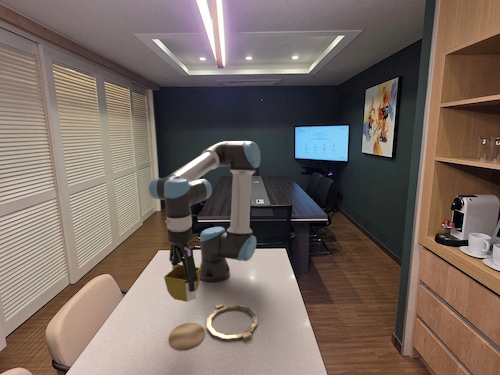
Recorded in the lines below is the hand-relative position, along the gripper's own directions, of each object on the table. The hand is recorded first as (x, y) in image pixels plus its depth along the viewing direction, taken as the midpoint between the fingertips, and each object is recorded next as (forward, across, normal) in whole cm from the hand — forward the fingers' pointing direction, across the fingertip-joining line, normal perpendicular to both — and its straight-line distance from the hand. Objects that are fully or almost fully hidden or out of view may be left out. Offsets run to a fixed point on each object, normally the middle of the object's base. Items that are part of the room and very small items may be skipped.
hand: (184, 290), depth 93 cm
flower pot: (+3, 0, 0) cm, 3 cm away
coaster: (+17, 0, 0) cm, 17 cm away
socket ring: (+17, +3, +16) cm, 24 cm away
